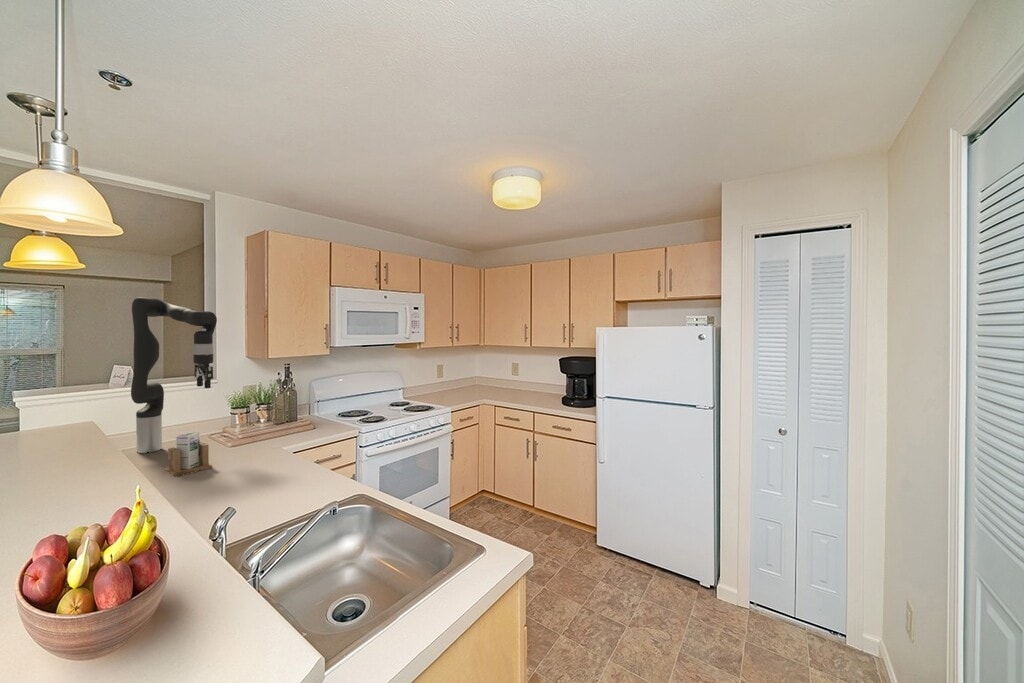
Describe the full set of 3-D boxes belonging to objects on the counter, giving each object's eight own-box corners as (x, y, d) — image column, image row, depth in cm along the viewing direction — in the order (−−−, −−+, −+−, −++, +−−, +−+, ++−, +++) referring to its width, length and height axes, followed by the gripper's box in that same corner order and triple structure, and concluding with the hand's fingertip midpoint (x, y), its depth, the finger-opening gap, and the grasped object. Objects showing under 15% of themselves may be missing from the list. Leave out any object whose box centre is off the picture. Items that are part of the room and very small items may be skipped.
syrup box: (189, 469, 170) (189, 435, 169) (176, 468, 170) (175, 435, 169) (200, 464, 175) (200, 432, 175) (187, 464, 176) (187, 431, 175)
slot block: (164, 470, 170) (164, 447, 170) (200, 462, 181) (200, 440, 181) (175, 476, 164) (175, 453, 163) (212, 467, 175) (212, 445, 174)
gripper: (187, 352, 188) (188, 386, 189) (200, 354, 181) (200, 389, 181) (206, 352, 195) (206, 384, 195) (219, 353, 187) (219, 387, 188)
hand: (203, 387), depth 188 cm, fingers open, 8 cm apart
